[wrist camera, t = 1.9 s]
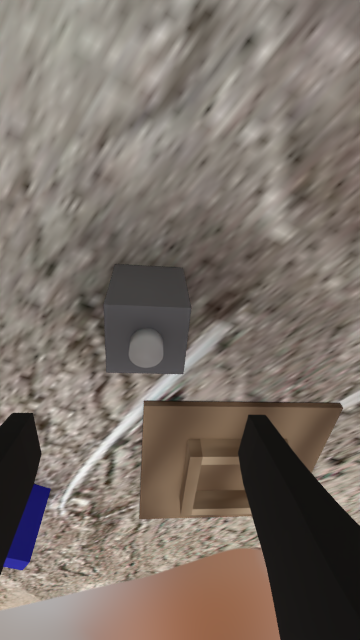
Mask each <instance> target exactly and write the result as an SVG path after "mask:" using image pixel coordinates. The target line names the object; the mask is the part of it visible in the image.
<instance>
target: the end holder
mask: <svg viewBox="0 0 360 640" xmlns="http://www.w3.org/2000/svg"><path fill="white" fill-rule="evenodd" d="M342 409H343V407H342V405H341V404H340V403H268V402H181V401H144V415H143V440H142V465H141V490H140V515H139V519H161V518H198V517H234V516H252V513H251V510H250V506H249V503H248V499H247V496H246V492H245V488H244V485H243V480H242V475H241V469H240V463H239V457H238V450H239V446H240V443H241V439H242V436H243V432H244V429H245V425H246V422H247V418H248V415H266V416H267V417H268V418H269V420H270V421H271V422H272V424H273V425H274V426H275V428H276V429H277V430H278V432H279V433H280V434H281V436H282V437H283V438H284V440H285V441H286V442H287V443H288V445H289V446H290V447H291V449H292V450H293V451H294V452H295V454H296V455H297V456H298V457H299V459H300V460H301V461H302V462H303V464H304V465H305V466H306V467H307V468H308V470H309V471H310V472H312V470H313V468H314V466H315V464H316V462H317V460H318V458H319V456H320V454H321V452H322V450H323V448H324V446H325V444H326V442H327V440H328V438H329V436H330V434H331V432H332V430H333V428H334V426H335V423H336V421H337V419H338V417H339V415H340V413H341V411H342Z"/></svg>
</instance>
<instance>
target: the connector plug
mask: <svg viewBox="0 0 360 640" xmlns="http://www.w3.org/2000/svg"><path fill="white" fill-rule="evenodd" d="M190 314H191V304H190V300H189V295H188V290H187V285H186V280H185V275H184V270H183V268H178V267H160V266H142V265H124V264H115V266H114V270H113V273H112V277H111V280H110V284H109V287H108V291H107V294H106V298H105V301H104V326H105V350H106V372H108V373H155V374H183V372H184V364H185V356H186V348H187V339H188V331H189V323H190Z"/></svg>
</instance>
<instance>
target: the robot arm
mask: <svg viewBox="0 0 360 640" xmlns="http://www.w3.org/2000/svg"><path fill="white" fill-rule="evenodd" d="M40 457H41V449H40V444H39V440H38V435H37V430H36V426H35V421H34V416H33V413H12V414H11V415H10V416H9V417H8V418H7V419H6V421H5V422H4V423H3V424H2V425H1V426H0V575H1V572H2V569H3V566H4V563H5V560H6V558H7V555H8V552H9V550H10V547H11V544H12V542H13V539H14V536H15V534H16V531H17V528H18V526H19V523H20V520H21V518H22V515H23V512H24V510H25V507H26V504H27V502H28V499H29V496H30V494H31V491H32V488H33V485H34V481H35V477H36V474H37V470H38V466H39V462H40ZM238 457H239V463H240V469H241V475H242V480H243V485H244V488H245V492H246V496H247V499H248V503H249V506H250V510H251V513H252V517H253V520H254V524H255V527H256V531H257V534H258V538H259V541H260V545H261V548H262V552H263V555H264V559H265V563H266V567H267V572H268V577H269V582H270V586H271V592H272V596H273V602H274V607H275V612H276V617H277V623H278V628H279V634H280V639H281V640H360V526H359V525H358V524H357V523H356V522H355V521H354V520H353V519H352V518H351V517H350V516H349V514H348V513H347V512H346V511H345V510H344V509H343V508H342V507H341V506H340V505H339V504H338V503H337V502H336V501H335V500H334V498H333V497H332V496H331V495H330V494H329V493H328V492H327V491H326V490H325V488H324V487H323V486H322V485H321V484H320V483H319V482H318V480H317V479H316V478H315V477H314V476H313V474H312V473H311V472H310V471H309V470H308V468H307V467H306V466H305V465H304V464H303V462H302V461H301V460H300V459H299V457H298V456H297V455H296V454H295V452H294V451H293V450H292V449H291V447H290V446H289V445H288V443H287V442H286V441H285V440H284V438H283V437H282V436H281V434H280V433H279V432H278V430H277V429H276V428H275V426H274V425H273V424H272V422H271V421H270V420H269V418H268V417H267V416H266V415H248V418H247V422H246V425H245V429H244V432H243V436H242V439H241V443H240V446H239V450H238Z"/></svg>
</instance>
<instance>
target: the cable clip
mask: <svg viewBox="0 0 360 640" xmlns="http://www.w3.org/2000/svg"><path fill="white" fill-rule="evenodd" d="M50 490H51V489H50V488H46V487H43V486H39V485H36V484H34V485H33V488H32V491H31V494H30V496H29V499H28V502H27V504H26V507H25V510H24V512H23V515H22V518H21V520H20V523H19V526H18V528H17V531H16V534H15V536H14V539H13V542H12V544H11V547H10V550H9V552H8V555H7V558H6V560H5V563H4V566H3V567H8V568H13V569H18V570H23V569H24V568H25V567H26V566H27V565H28V563H29V562H30V559H31V556H32V552H33V549H34V545H35V542H36V538H37V535H38V531H39V528H40V524H41V521H42V517H43V514H44V511H45V507H46V504H47V500H48V497H49V493H50Z"/></svg>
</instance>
